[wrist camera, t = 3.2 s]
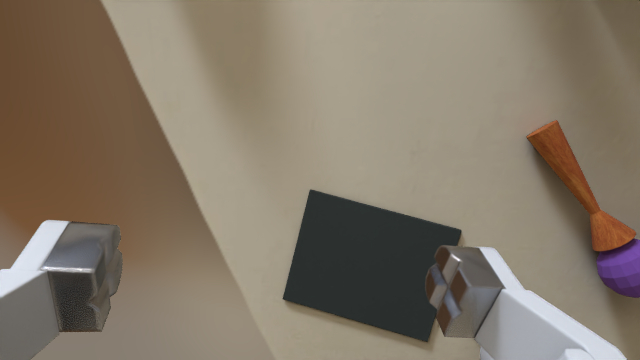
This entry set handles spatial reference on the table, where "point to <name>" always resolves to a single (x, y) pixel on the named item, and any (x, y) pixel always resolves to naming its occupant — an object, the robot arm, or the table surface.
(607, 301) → the table surface
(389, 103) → the table surface
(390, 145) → the table surface
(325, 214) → the mat
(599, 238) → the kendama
